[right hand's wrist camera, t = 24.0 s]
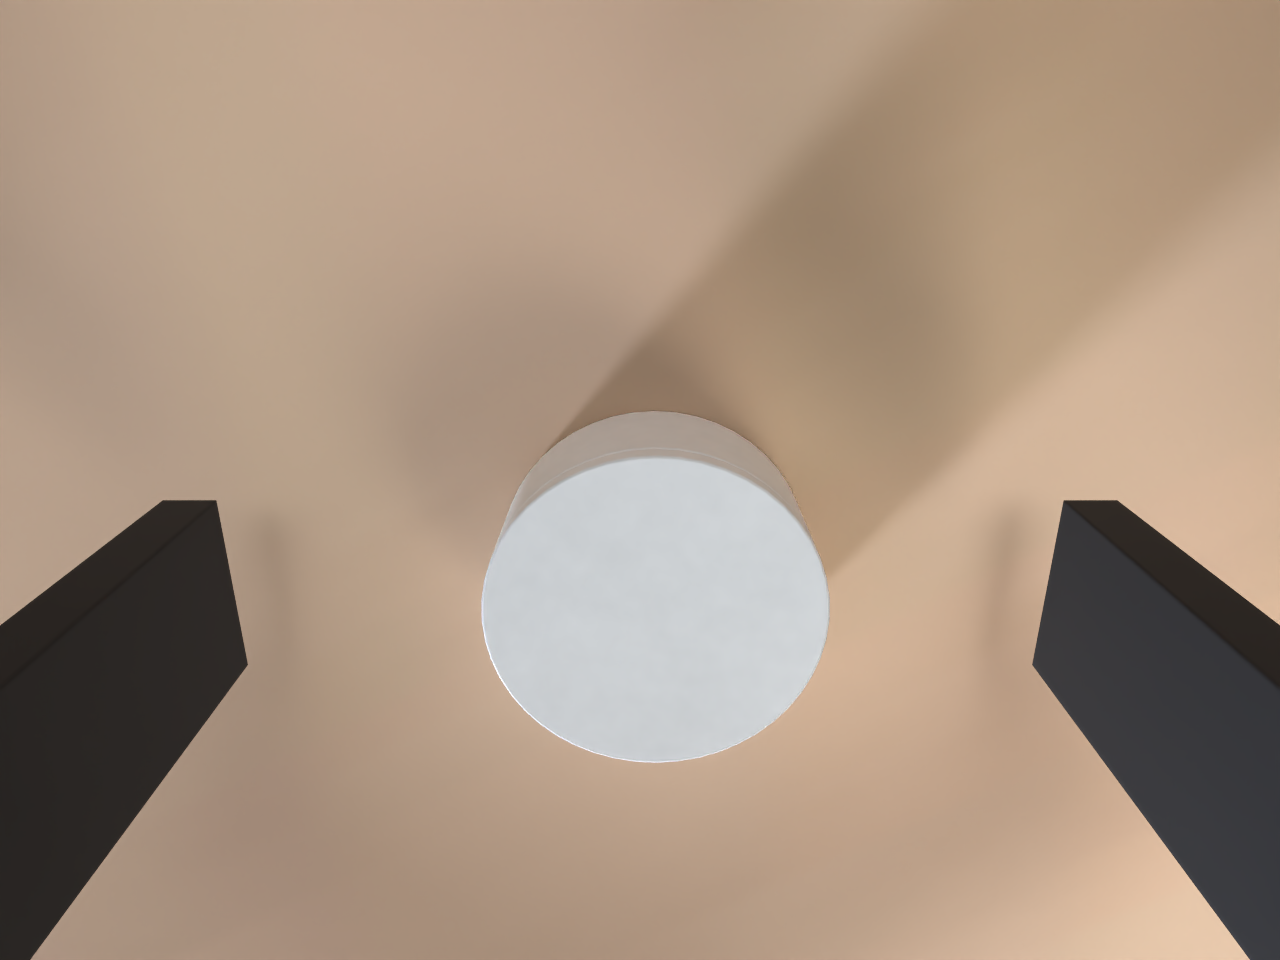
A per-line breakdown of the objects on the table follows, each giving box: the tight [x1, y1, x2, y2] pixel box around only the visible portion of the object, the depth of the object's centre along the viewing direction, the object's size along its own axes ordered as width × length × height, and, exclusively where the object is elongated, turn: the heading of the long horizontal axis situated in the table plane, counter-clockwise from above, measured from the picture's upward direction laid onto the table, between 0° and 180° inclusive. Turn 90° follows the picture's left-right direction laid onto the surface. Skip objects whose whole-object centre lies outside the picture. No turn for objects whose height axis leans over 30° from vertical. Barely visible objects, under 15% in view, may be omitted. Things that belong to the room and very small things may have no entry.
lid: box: [482, 411, 830, 763], centre depth 14 cm, size 5×5×2 cm
